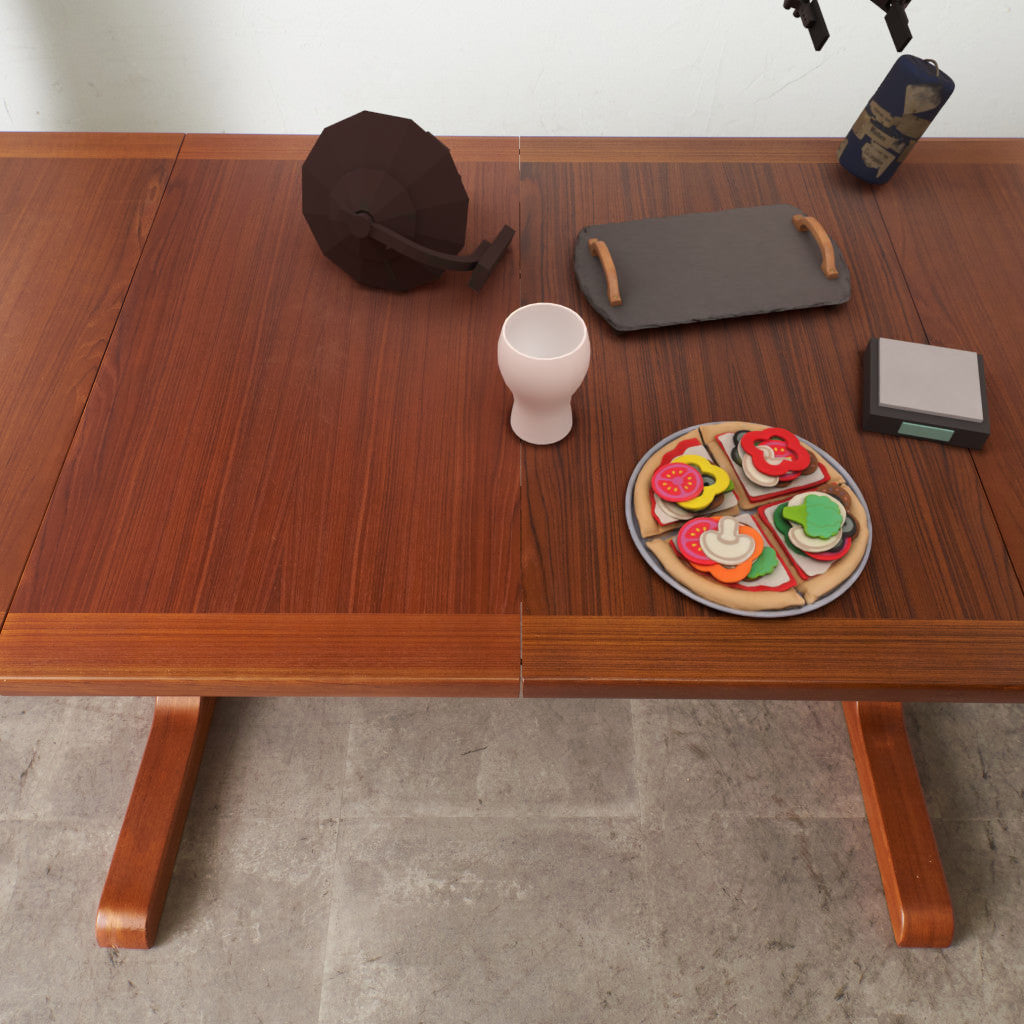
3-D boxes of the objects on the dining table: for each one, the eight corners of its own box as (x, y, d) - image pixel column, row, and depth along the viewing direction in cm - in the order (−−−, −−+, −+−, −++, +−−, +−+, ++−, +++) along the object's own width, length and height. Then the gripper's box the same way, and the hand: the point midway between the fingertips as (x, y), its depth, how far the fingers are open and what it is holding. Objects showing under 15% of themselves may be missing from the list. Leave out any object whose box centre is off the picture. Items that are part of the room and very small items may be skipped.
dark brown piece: (386, 50, 129) (304, 85, 105) (559, 156, 132) (518, 213, 108) (330, 197, 143) (247, 257, 119) (488, 289, 146) (438, 367, 122)
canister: (833, 170, 138) (910, 55, 126) (829, 148, 145) (902, 36, 132) (887, 198, 139) (969, 86, 127) (881, 174, 146) (958, 66, 133)
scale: (973, 371, 117) (984, 351, 115) (980, 451, 109) (993, 431, 106) (863, 354, 119) (871, 333, 117) (862, 431, 111) (871, 411, 108)
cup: (563, 382, 116) (569, 290, 104) (597, 440, 110) (607, 349, 98) (486, 404, 114) (483, 312, 102) (517, 464, 108) (517, 373, 96)
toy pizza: (788, 404, 114) (797, 380, 110) (918, 578, 98) (933, 555, 95) (587, 462, 108) (589, 437, 105) (691, 655, 93) (698, 634, 89)
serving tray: (594, 349, 120) (598, 313, 115) (558, 243, 134) (559, 207, 129) (866, 313, 124) (881, 277, 119) (804, 215, 138) (815, 178, 133)
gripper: (880, -44, 141) (922, 65, 135) (737, -50, 135) (774, 63, 129) (909, -88, 134) (954, 24, 128) (760, -97, 128) (800, 21, 122)
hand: (864, 44), depth 129 cm, fingers open, 13 cm apart
